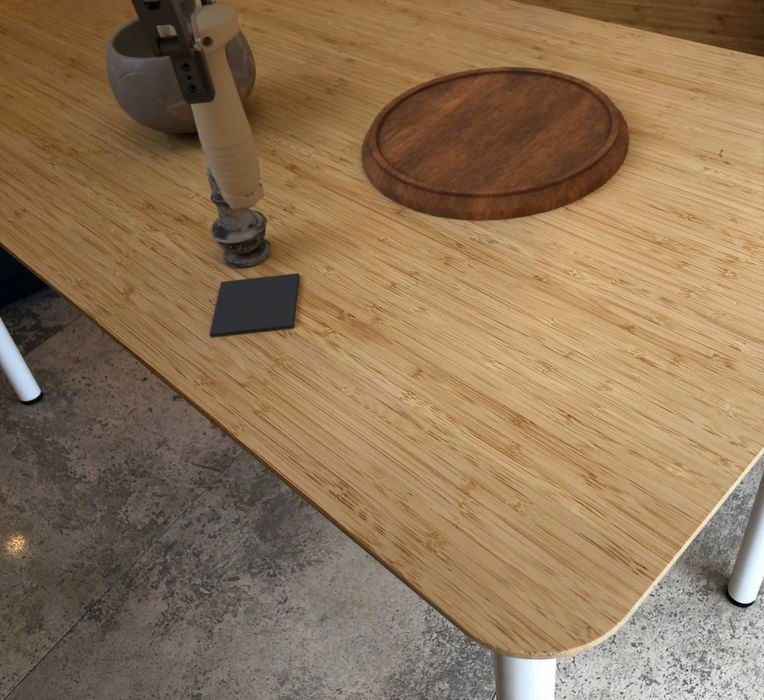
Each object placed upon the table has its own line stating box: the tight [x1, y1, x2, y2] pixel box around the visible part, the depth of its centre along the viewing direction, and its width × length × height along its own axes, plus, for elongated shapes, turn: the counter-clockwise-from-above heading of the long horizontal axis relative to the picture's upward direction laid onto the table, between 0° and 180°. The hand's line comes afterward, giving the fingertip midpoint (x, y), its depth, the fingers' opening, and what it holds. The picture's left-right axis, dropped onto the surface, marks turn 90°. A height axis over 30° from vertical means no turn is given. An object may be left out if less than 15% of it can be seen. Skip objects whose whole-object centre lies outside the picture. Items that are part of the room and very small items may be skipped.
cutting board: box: [361, 66, 630, 221], centre depth 101 cm, size 32×32×2 cm
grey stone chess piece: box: [205, 164, 273, 269], centre depth 86 cm, size 6×6×12 cm
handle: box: [166, 2, 265, 209], centre depth 65 cm, size 5×6×15 cm
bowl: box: [105, 16, 257, 134], centre depth 108 cm, size 18×18×13 cm
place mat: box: [209, 272, 301, 338], centre depth 83 cm, size 8×8×1 cm
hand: (208, 80), depth 63 cm, fingers closed on handle, 5 cm apart
